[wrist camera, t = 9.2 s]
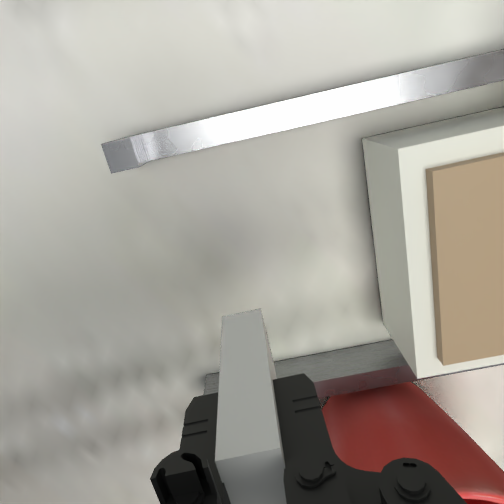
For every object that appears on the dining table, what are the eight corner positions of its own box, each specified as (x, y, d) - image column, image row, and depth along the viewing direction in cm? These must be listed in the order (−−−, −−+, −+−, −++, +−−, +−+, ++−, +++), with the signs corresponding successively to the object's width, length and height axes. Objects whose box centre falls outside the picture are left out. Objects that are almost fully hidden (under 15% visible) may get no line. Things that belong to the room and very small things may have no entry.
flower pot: (269, 386, 25) (281, 542, 16) (435, 330, 24) (549, 466, 15) (320, 494, 29) (354, 673, 20) (468, 451, 28) (577, 620, 19)
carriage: (383, 324, 24) (422, 387, 18) (362, 138, 20) (403, 150, 15) (519, 297, 23) (599, 354, 18) (524, 102, 19) (628, 101, 14)
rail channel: (211, 390, 25) (204, 444, 21) (131, 135, 20) (101, 143, 16) (526, 330, 24) (583, 376, 20) (535, 41, 19) (617, 24, 15)
